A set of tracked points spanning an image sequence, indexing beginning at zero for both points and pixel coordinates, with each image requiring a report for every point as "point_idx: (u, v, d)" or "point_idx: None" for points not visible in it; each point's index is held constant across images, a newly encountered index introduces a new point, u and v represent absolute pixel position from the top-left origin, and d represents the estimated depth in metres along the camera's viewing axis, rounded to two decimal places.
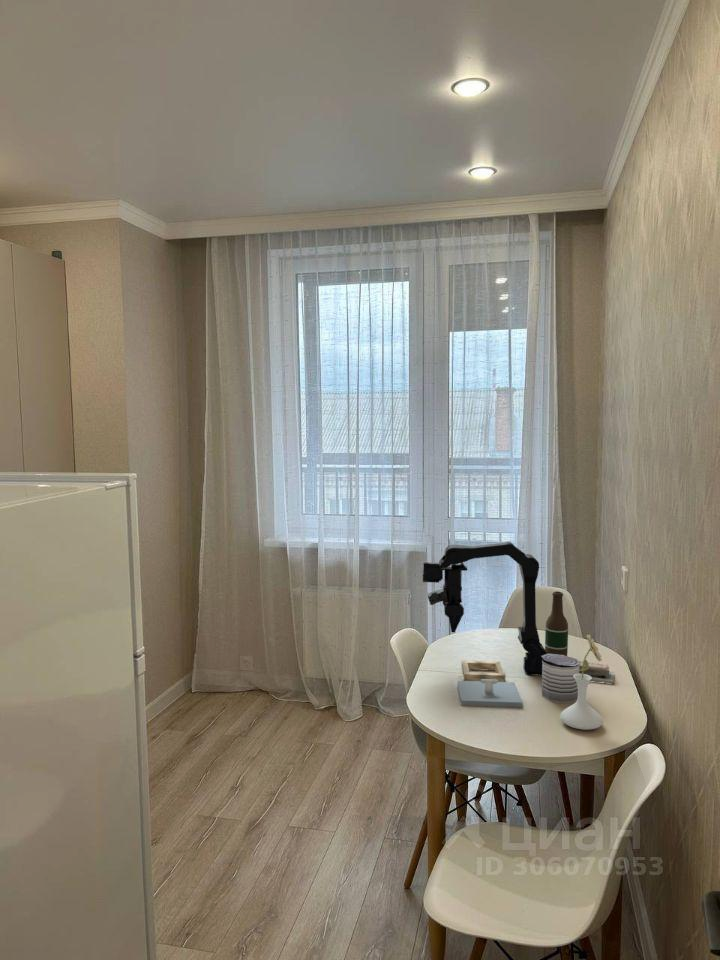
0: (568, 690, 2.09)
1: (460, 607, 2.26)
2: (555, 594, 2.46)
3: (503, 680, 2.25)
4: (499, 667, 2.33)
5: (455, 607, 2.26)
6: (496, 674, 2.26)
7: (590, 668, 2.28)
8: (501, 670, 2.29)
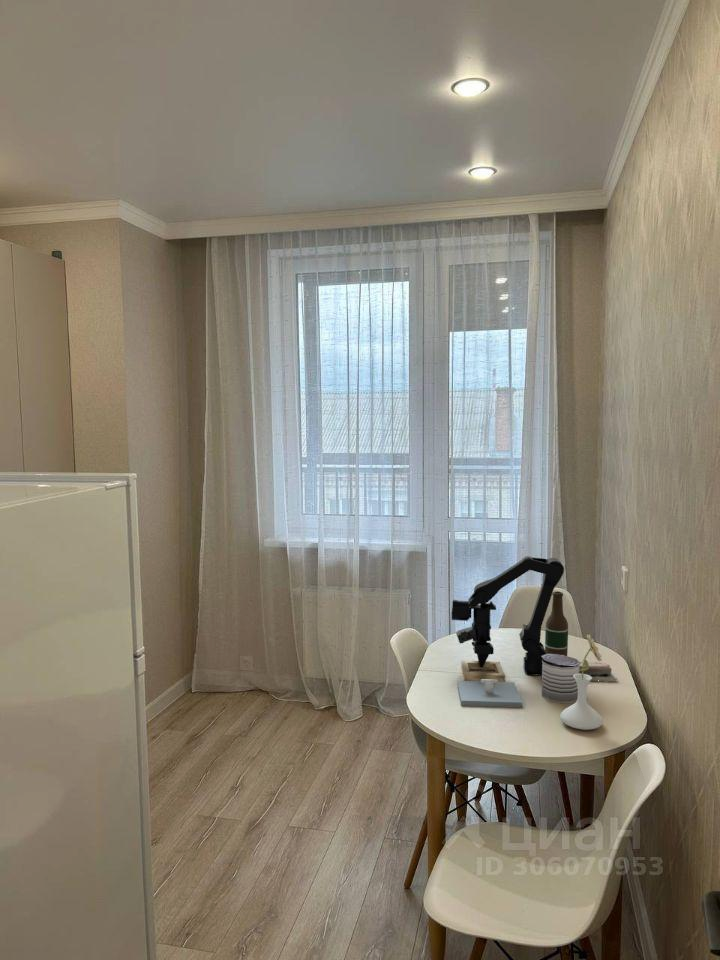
0: (568, 690, 2.09)
1: (490, 647, 2.28)
2: (555, 594, 2.46)
3: (503, 680, 2.25)
4: (499, 667, 2.33)
5: (485, 647, 2.28)
6: (496, 674, 2.26)
7: (593, 668, 2.29)
8: (501, 670, 2.29)
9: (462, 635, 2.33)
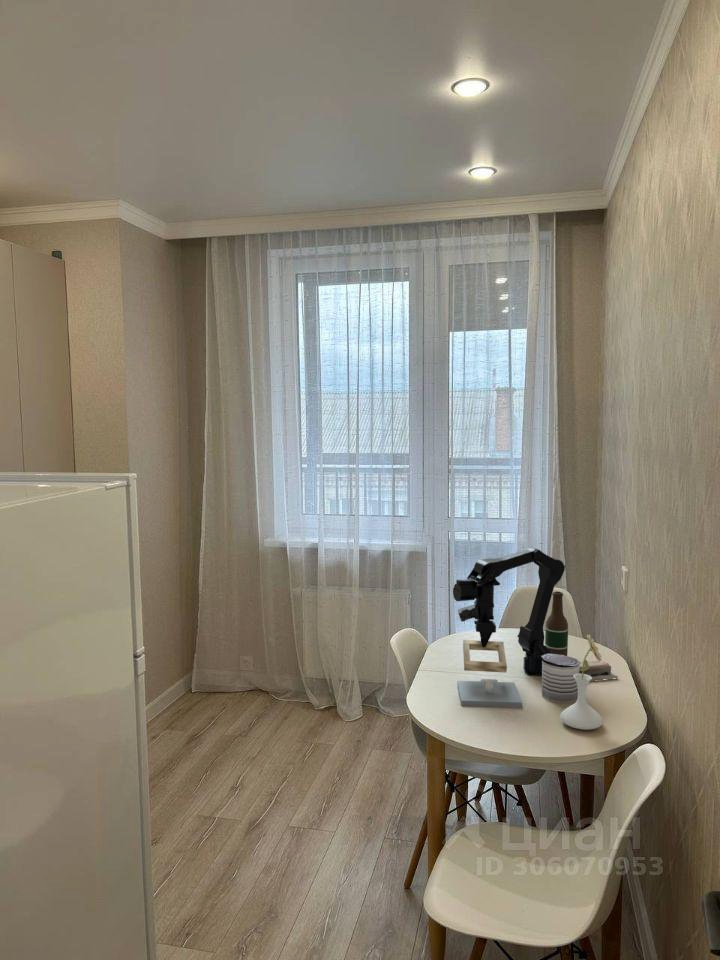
0: (568, 690, 2.09)
1: (492, 625, 2.18)
2: (555, 594, 2.46)
3: (505, 670, 2.16)
4: (501, 651, 2.22)
5: (487, 625, 2.18)
6: (498, 664, 2.17)
7: (595, 667, 2.29)
8: (504, 658, 2.19)
9: (463, 613, 2.23)
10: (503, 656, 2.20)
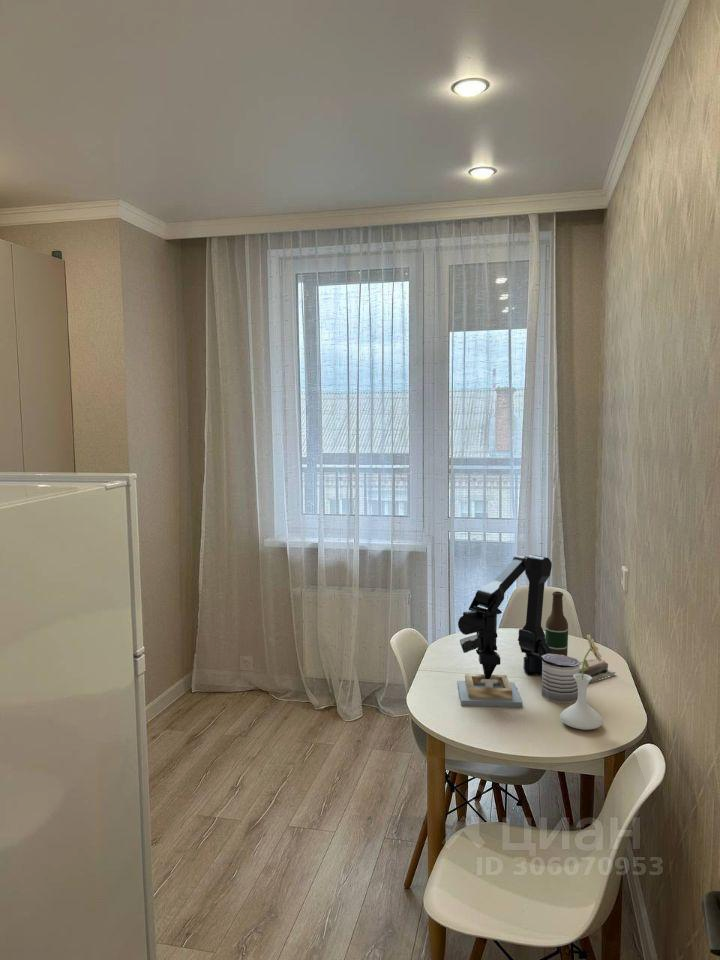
0: (568, 690, 2.09)
1: (496, 657, 2.11)
2: (555, 594, 2.46)
3: (510, 696, 2.09)
4: (505, 681, 2.16)
5: (491, 657, 2.11)
6: (503, 689, 2.09)
7: (596, 666, 2.30)
8: (508, 685, 2.12)
9: (466, 644, 2.16)
10: (508, 684, 2.13)
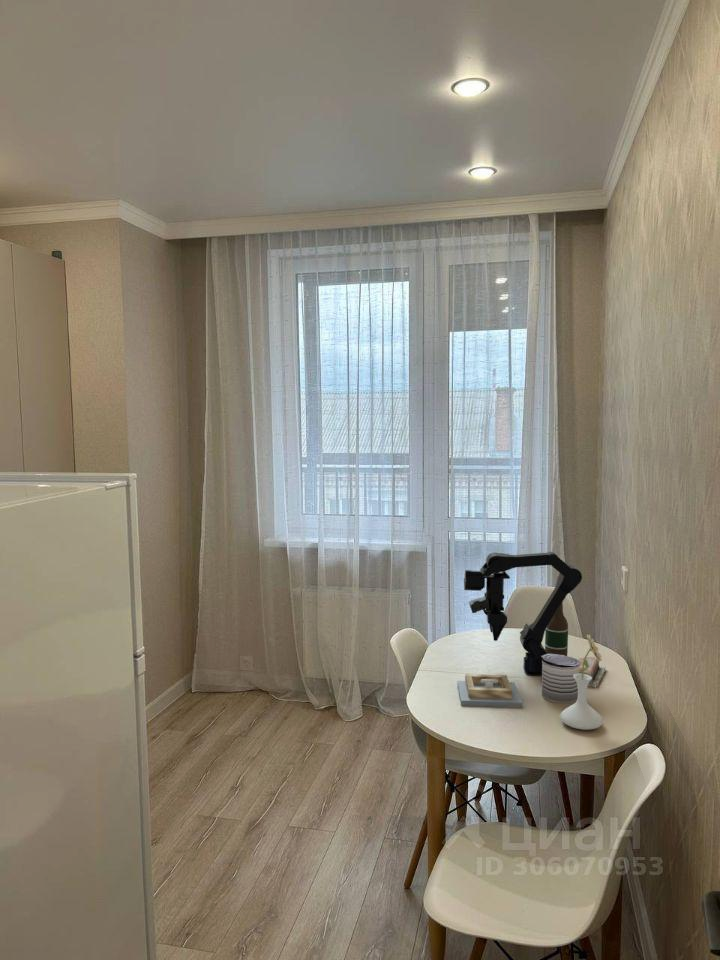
0: (568, 690, 2.09)
1: (503, 616, 2.25)
2: None
3: (510, 696, 2.09)
4: (505, 681, 2.16)
5: (498, 615, 2.25)
6: (503, 689, 2.09)
7: (596, 664, 2.32)
8: (508, 685, 2.12)
9: (475, 604, 2.30)
10: (508, 684, 2.13)
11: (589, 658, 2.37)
